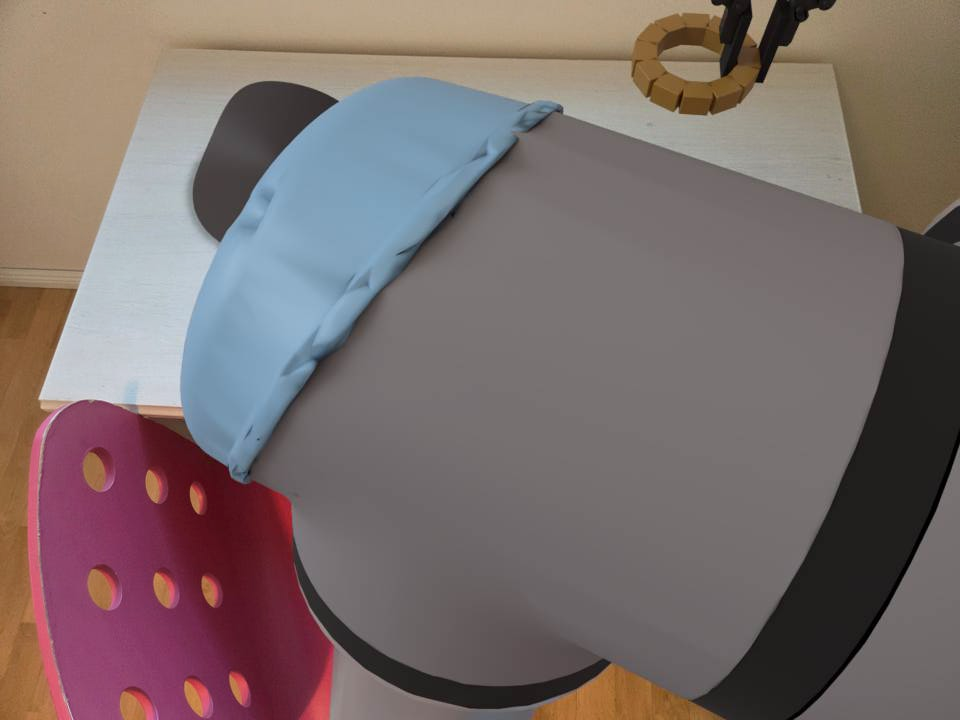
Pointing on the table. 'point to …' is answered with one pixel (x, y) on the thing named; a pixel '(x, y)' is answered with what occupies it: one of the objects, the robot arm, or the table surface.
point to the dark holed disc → (250, 146)
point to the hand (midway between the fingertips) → (741, 71)
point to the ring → (681, 92)
